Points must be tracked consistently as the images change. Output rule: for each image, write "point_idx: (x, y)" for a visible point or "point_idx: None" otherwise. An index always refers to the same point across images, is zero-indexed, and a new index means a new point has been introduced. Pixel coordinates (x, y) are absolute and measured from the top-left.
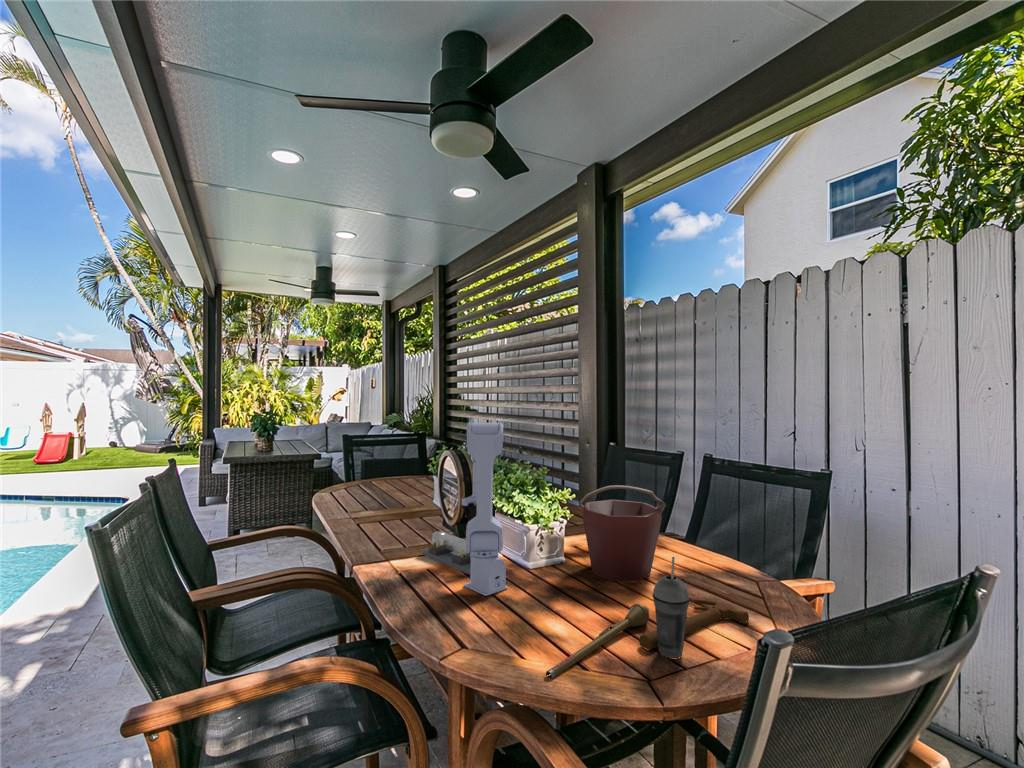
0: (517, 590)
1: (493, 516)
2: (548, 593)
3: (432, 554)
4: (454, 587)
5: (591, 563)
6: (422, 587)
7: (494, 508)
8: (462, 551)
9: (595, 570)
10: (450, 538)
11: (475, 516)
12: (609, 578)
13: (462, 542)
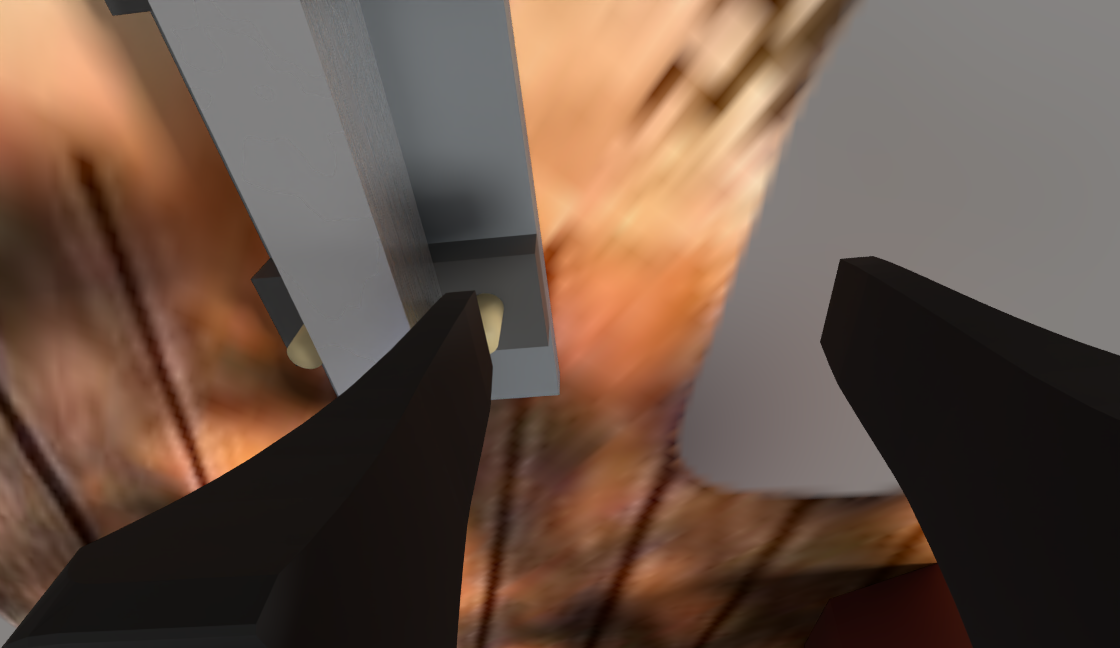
0: (470, 576)
1: (882, 443)
2: (548, 621)
3: None
4: (226, 464)
5: (840, 645)
6: (49, 397)
7: (959, 609)
8: (308, 366)
9: (828, 626)
10: (224, 103)
11: (456, 539)
12: (808, 644)
13: (325, 319)
